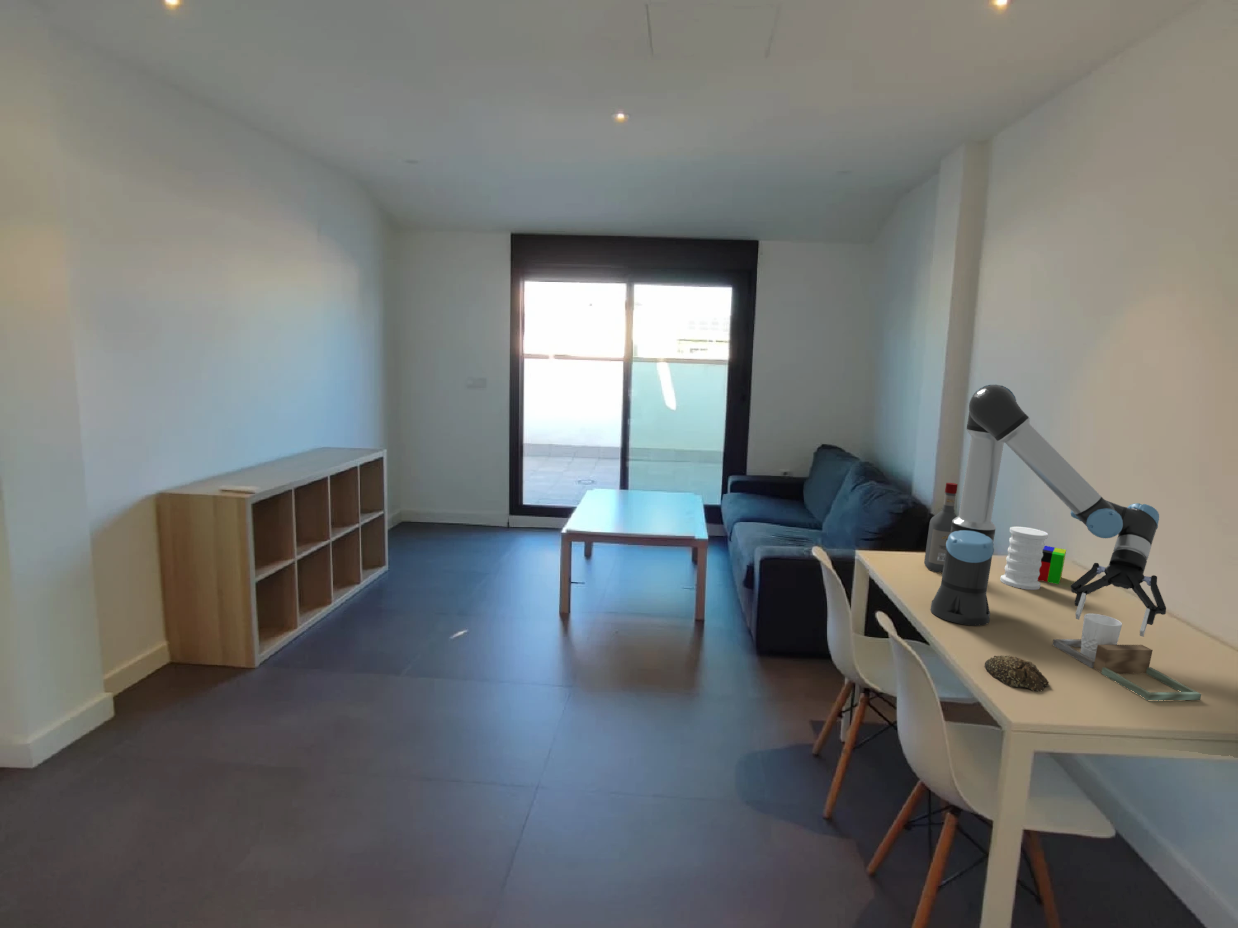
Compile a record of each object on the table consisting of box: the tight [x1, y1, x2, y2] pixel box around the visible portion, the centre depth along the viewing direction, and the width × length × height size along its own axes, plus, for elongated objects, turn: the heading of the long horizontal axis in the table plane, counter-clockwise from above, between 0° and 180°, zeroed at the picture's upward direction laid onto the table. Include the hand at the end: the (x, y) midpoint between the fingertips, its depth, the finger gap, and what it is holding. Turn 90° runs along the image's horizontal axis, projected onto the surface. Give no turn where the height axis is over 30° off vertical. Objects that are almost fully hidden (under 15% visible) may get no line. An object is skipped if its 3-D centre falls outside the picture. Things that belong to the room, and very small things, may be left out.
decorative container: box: [999, 526, 1049, 591], centre depth 233 cm, size 12×12×18 cm
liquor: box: [923, 482, 959, 574], centre depth 243 cm, size 9×9×30 cm
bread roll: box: [984, 654, 1050, 692], centre depth 164 cm, size 13×12×5 cm
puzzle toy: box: [1038, 545, 1067, 585], centre depth 243 cm, size 10×10×10 cm
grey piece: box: [1051, 638, 1202, 702], centre depth 171 cm, size 13×29×6 cm, turn 8°
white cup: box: [1079, 612, 1123, 661], centre depth 178 cm, size 8×8×10 cm
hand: (1108, 625), depth 179 cm, fingers open, 13 cm apart
